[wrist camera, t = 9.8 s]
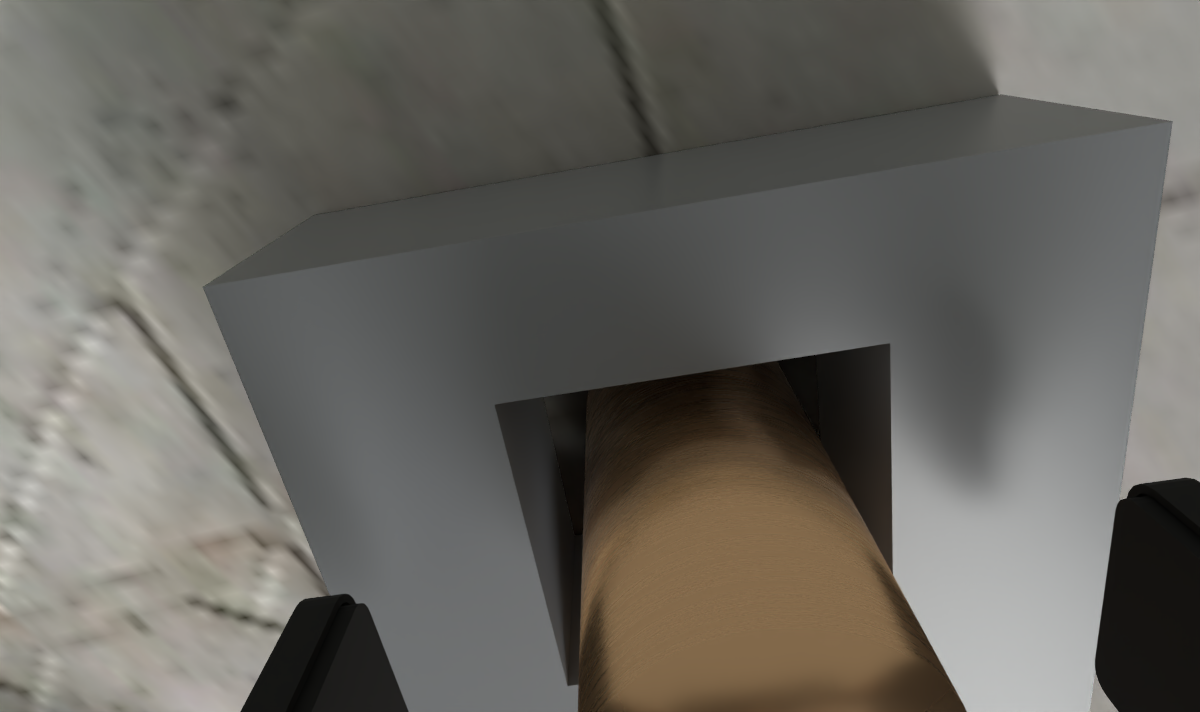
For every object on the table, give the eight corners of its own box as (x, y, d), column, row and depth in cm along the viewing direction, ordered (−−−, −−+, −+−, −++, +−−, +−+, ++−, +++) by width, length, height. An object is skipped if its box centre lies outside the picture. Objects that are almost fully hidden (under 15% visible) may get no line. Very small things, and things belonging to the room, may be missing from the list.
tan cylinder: (778, 298, 14) (986, 603, 6) (793, 476, 15) (970, 881, 8) (569, 331, 14) (538, 661, 7) (604, 503, 16) (610, 919, 8)
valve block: (1001, 94, 12) (1172, 121, 9) (966, 799, 19) (1051, 978, 16) (313, 215, 13) (202, 287, 9) (525, 850, 20) (509, 1030, 17)
